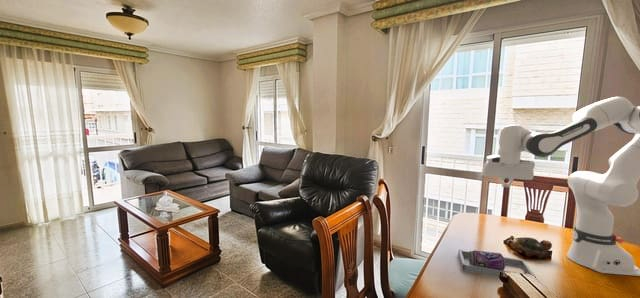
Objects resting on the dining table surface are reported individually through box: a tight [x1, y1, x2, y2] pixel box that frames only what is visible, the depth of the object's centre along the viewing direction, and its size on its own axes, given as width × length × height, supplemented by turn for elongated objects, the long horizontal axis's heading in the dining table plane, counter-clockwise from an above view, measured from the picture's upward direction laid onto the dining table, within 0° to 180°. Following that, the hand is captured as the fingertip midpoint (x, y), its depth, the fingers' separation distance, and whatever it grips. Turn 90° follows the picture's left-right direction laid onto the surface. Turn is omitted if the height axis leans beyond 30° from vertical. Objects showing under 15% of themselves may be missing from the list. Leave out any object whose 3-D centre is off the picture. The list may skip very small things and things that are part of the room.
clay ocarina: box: [510, 236, 553, 260], centre depth 123 cm, size 10×15×8 cm, turn 73°
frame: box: [457, 249, 537, 279], centre depth 113 cm, size 25×13×2 cm, turn 70°
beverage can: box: [468, 249, 506, 271], centre depth 112 cm, size 7×7×12 cm
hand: (505, 187), depth 130 cm, fingers closed
